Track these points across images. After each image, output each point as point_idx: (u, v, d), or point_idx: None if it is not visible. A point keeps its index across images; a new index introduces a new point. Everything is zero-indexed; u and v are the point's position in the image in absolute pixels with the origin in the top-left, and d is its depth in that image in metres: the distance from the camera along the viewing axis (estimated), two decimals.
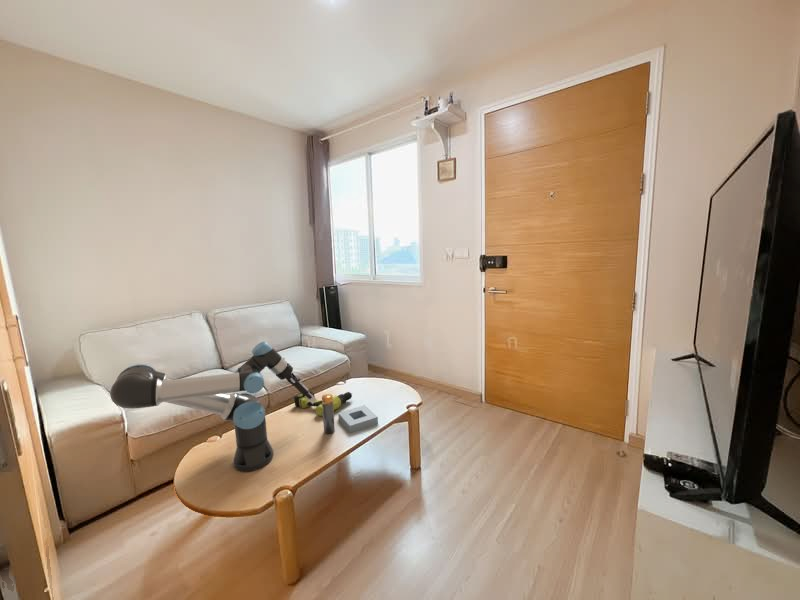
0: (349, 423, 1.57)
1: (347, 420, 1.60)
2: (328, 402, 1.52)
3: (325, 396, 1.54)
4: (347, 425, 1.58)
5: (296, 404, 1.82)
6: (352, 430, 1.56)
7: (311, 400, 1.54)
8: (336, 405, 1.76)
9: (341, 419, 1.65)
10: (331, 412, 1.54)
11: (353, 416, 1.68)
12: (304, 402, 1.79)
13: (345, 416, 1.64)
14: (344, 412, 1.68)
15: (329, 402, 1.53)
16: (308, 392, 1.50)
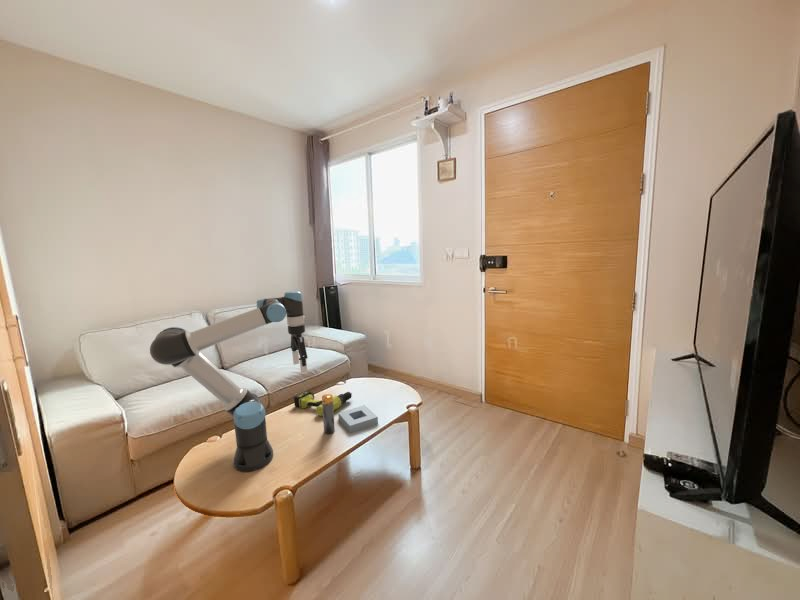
0: (349, 423, 1.57)
1: (347, 420, 1.60)
2: (328, 402, 1.52)
3: (325, 396, 1.54)
4: (347, 425, 1.58)
5: (296, 404, 1.81)
6: (352, 430, 1.56)
7: (302, 368, 1.48)
8: (336, 405, 1.76)
9: (341, 419, 1.65)
10: (331, 412, 1.54)
11: (353, 416, 1.68)
12: (304, 402, 1.79)
13: (345, 416, 1.64)
14: (344, 412, 1.68)
15: (329, 402, 1.53)
16: None
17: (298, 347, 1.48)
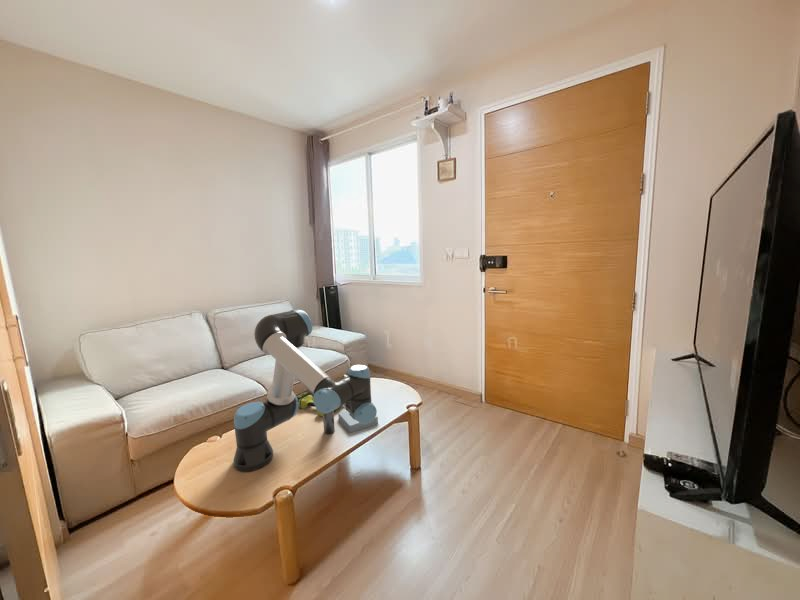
0: (349, 423, 1.57)
1: (347, 420, 1.60)
2: None
3: None
4: (347, 425, 1.58)
5: None
6: (352, 430, 1.56)
7: None
8: None
9: (341, 419, 1.65)
10: (331, 412, 1.54)
11: None
12: (304, 403, 1.78)
13: (345, 416, 1.64)
14: (344, 412, 1.68)
15: None
16: (313, 395, 1.31)
17: None
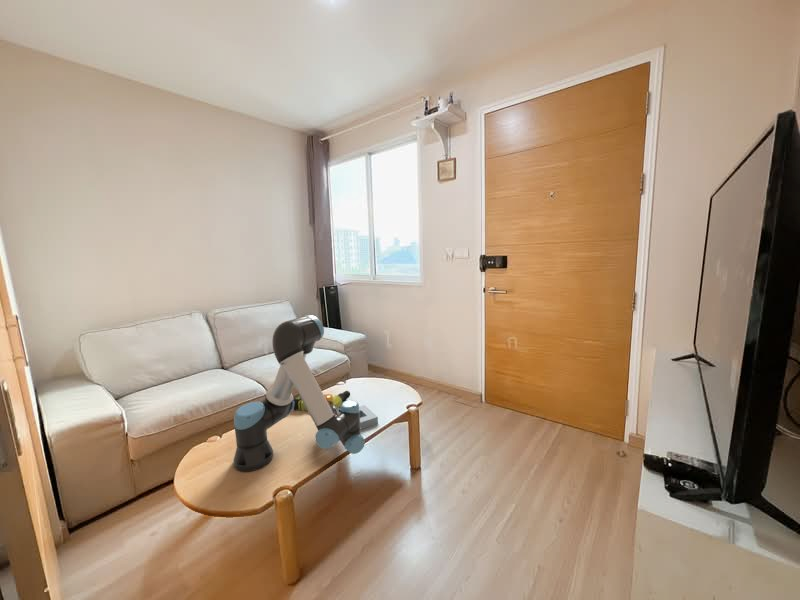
0: None
1: None
2: (328, 402, 1.52)
3: (325, 396, 1.54)
4: None
5: (295, 407, 1.78)
6: None
7: None
8: (338, 404, 1.77)
9: None
10: None
11: None
12: None
13: None
14: None
15: (329, 402, 1.53)
16: None
17: None
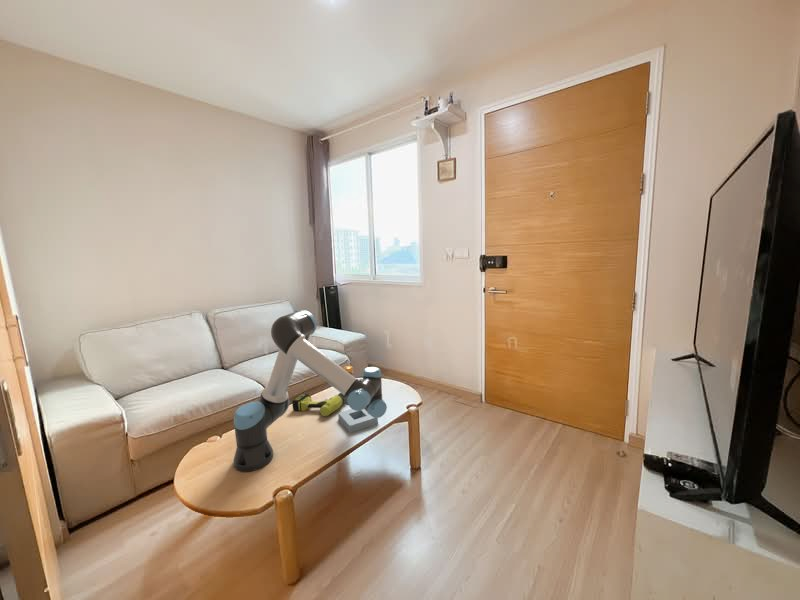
0: (349, 423, 1.57)
1: (347, 420, 1.60)
2: None
3: (345, 367, 1.57)
4: (347, 425, 1.58)
5: (295, 408, 1.77)
6: (352, 430, 1.56)
7: None
8: (339, 404, 1.77)
9: (341, 419, 1.65)
10: None
11: (353, 416, 1.68)
12: (304, 405, 1.76)
13: (345, 416, 1.64)
14: (344, 412, 1.68)
15: None
16: None
17: None
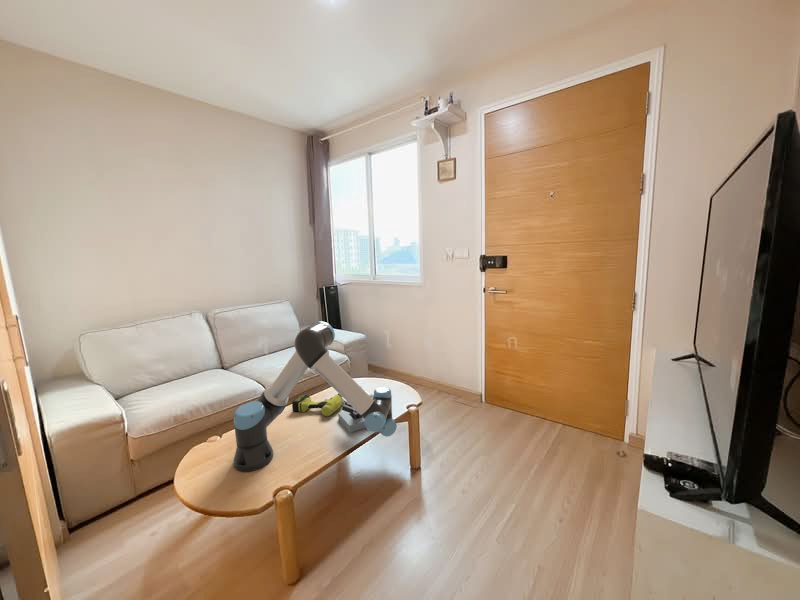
0: (349, 423, 1.57)
1: (347, 420, 1.60)
2: None
3: None
4: (347, 425, 1.58)
5: (295, 409, 1.76)
6: (352, 430, 1.56)
7: (343, 400, 1.62)
8: (340, 403, 1.77)
9: (341, 419, 1.65)
10: None
11: None
12: (305, 406, 1.75)
13: (345, 416, 1.64)
14: (344, 412, 1.68)
15: None
16: (342, 409, 1.56)
17: None
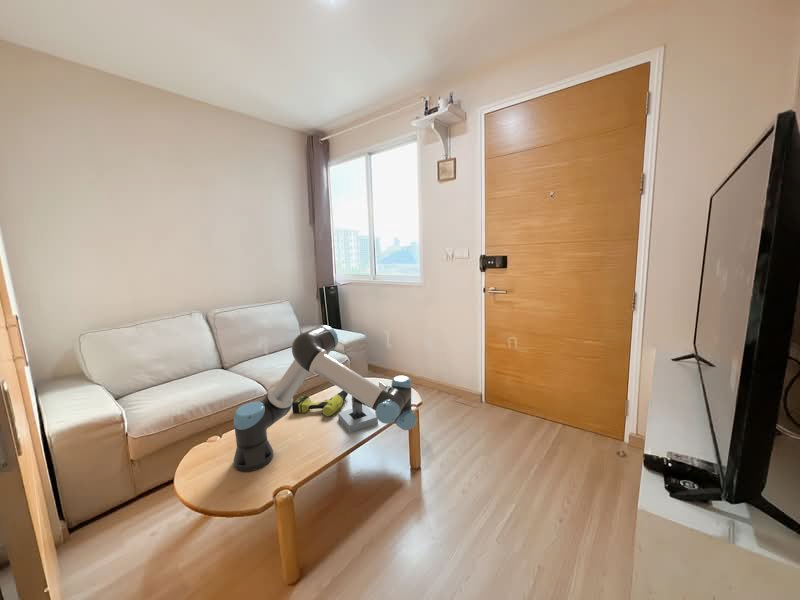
0: (349, 423, 1.57)
1: (347, 420, 1.60)
2: None
3: None
4: (347, 425, 1.58)
5: (295, 410, 1.74)
6: (352, 430, 1.56)
7: None
8: (340, 403, 1.78)
9: (341, 419, 1.65)
10: None
11: None
12: (305, 406, 1.74)
13: (345, 416, 1.64)
14: (344, 412, 1.68)
15: None
16: None
17: None
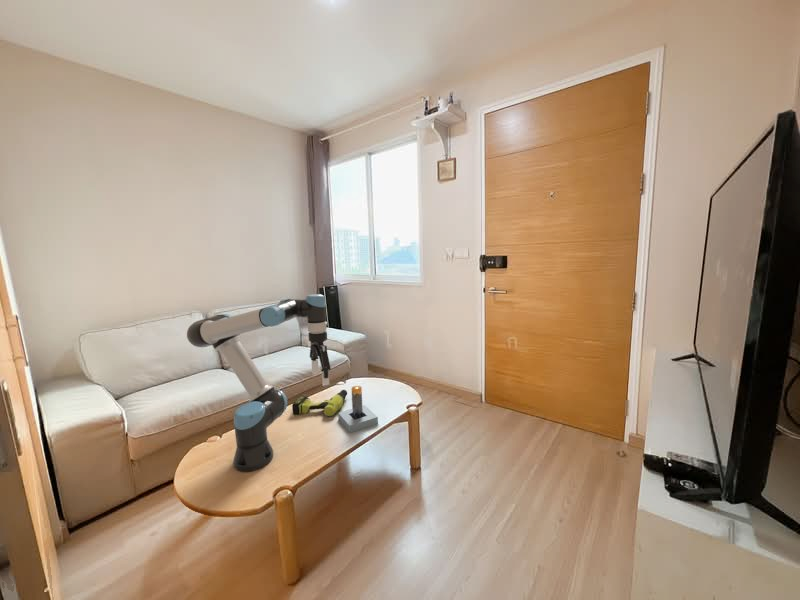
0: (349, 423, 1.57)
1: (347, 420, 1.60)
2: (357, 393, 1.61)
3: (354, 387, 1.63)
4: (347, 425, 1.58)
5: (295, 411, 1.73)
6: (352, 430, 1.56)
7: (324, 381, 1.33)
8: (341, 403, 1.78)
9: (341, 419, 1.65)
10: (360, 402, 1.63)
11: None
12: (306, 407, 1.73)
13: (345, 416, 1.64)
14: (344, 412, 1.68)
15: (358, 393, 1.61)
16: None
17: (320, 357, 1.33)
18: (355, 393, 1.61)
